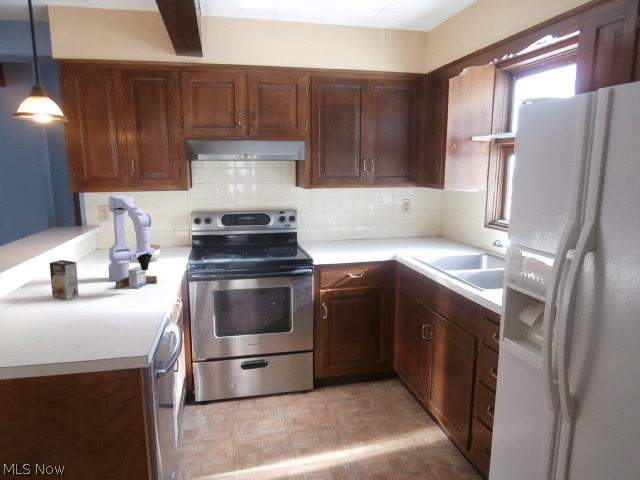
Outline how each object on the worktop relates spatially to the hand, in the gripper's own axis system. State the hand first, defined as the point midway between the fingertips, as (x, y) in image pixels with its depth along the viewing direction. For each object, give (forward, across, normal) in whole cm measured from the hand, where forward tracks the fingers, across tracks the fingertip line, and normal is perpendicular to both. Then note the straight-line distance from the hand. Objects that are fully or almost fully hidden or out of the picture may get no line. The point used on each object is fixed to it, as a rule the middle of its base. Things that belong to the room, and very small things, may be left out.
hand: (144, 270), depth 200 cm
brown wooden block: (+10, +9, +10) cm, 17 cm away
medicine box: (+10, +9, +10) cm, 17 cm away
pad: (+10, +9, +10) cm, 17 cm away
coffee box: (+11, -15, +30) cm, 35 cm away
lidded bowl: (+10, +59, +34) cm, 69 cm away
